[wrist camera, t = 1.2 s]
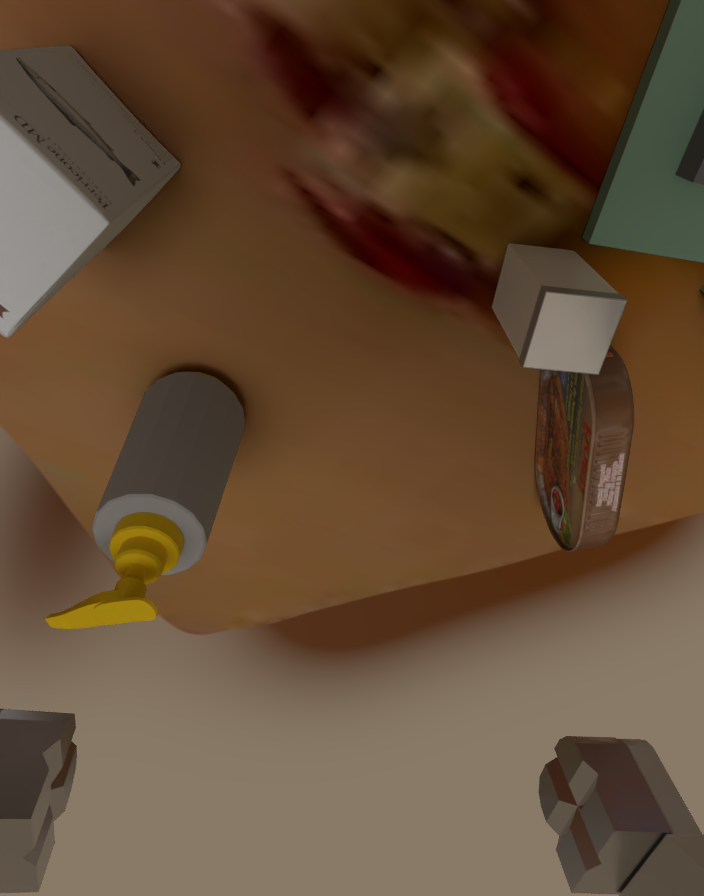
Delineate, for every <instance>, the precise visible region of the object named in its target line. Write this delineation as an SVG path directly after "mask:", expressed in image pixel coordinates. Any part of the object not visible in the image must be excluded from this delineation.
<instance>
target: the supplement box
mask: <svg viewBox="0 0 704 896" xmlns="http://www.w3.org/2000/svg"><path fill="white" fill-rule="evenodd" d="M180 167H181V164H180V163H179V161H178V160H176V159H175V158H174V157H173V156H172V155H171V154H170V153H169V152H168V151H167V150H166V149H165V148H164V147H163V146H162V145H161V144H160V143H159V142H158V141H157V140H156V139H155V138H154V136H153V135H152V134H151V133H150V132H149V131H148V130H147V129H146V128H145V127H144V126H143V125H142V124H141V123H140V122H139V121H138V120H137V119H136V118H135V116H134V115H133V114H132V113H131V112H130V111H129V110H128V109H127V108H126V107H125V106H124V105H123V103H122V102H121V101H120V100H119V99H118V98H117V97H116V96H115V95H114V93H113V92H112V91H111V90H110V89H109V88H108V87H107V86H106V85H105V84H104V82H103V81H102V80H101V79H100V78H99V77H98V76H97V75H96V74H95V72H94V71H93V70H92V69H91V68H90V67H89V66H88V64H87V63H86V62H85V61H84V60H83V59H82V58H81V56H80V55H79V54H78V53H77V52H76V50H75V49H74V48H73V47H71V46H53V47H36V48H23V49H10V50H0V334H1V335H3V336H4V337H10V336H11V335H12V334H14V333H15V332H16V331H17V330H18V329H19V328H20V327H21V326H22V325H23V324H24V323H25V322H26V321H27V320H28V319H29V318H30V317H31V316H33V315H34V314H35V313H36V312H37V311H38V310H39V309H40V308H41V307H42V306H43V305H44V304H45V303H46V302H47V301H48V300H50V299H51V298H52V297H53V296H54V295H55V294H56V293H57V292H58V291H59V290H60V289H61V288H62V287H63V286H64V285H65V284H67V283H68V282H69V281H70V280H71V279H72V278H73V277H74V276H75V275H76V274H77V273H78V272H79V271H80V270H81V269H83V268H84V267H85V266H86V265H87V264H88V263H89V262H90V261H91V260H92V259H93V258H94V257H96V256H97V255H98V254H99V253H100V252H101V251H102V250H103V249H104V248H105V247H106V246H107V245H108V244H109V243H110V242H111V241H112V240H113V239H114V238H115V237H116V236H117V235H118V234H119V233H120V232H121V231H122V230H123V229H124V228H125V227H126V226H127V225H128V224H129V223H130V222H131V221H132V220H133V219H134V218H135V217H136V216H137V215H138V214H139V213H140V212H141V210H142V209H143V208H144V207H145V206H146V205H147V204H148V203H149V202H150V201H151V200H152V199H153V198H154V196H155V195H156V194H157V193H158V192H159V191H160V190H161V189H162V187H163V186H164V185H165V184H166V183H167V182H168V181H169V180H170V179H171V177H172V176H173V175H174V174H175V173H176V172H177V171H178V170H179V169H180Z"/></svg>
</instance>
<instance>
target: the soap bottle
mask: <svg viewBox="0 0 704 896" xmlns="http://www.w3.org/2000/svg"><path fill="white" fill-rule="evenodd" d="M244 428H245V420H244V410H243V407H242V406H241V404H240V402H239V401H238V399H237V397H236V395H235V394H234V392H232V391H231V390H230V388H229V387H227V386H226V385H225V384H224V383H222V382H221V381H220V380H219V379H217V378H216V377H213V376H211V375H208V374H205V373H202V372H175V373H173V374H170V375H167V376H165V377H162V378H160V379H157V380H156V381H155V382H154V383H153V385H152V386H151V387H150V388H149V389H148V390H147V391H146V392H145V394H144V396H143V399H142V401H141V404H140V406H139V408H138V411H137V413H136V416H135V418H134V421H133V423H132V426H131V428H130V431H129V433H128V436H127V438H126V440H125V443H124V445H123V448H122V450H121V453H120V455H119V458H118V460H117V463H116V465H115V468H114V470H113V472H112V475H111V477H110V480H109V482H108V485H107V487H106V490H105V492H104V495H103V497H102V500H101V502H100V504H99V507H98V509H97V512H96V515H95V519H94V523H93V527H92V530H93V534H94V537H95V540H96V543H97V545H98V547H99V548H100V549H101V550H102V551H103V552H104V553H105V555H106V556H107V557H108V558H109V559H110V560H112V561H114V562H115V567H116V571H117V573H118V574H119V575H120V576H121V579H120V580H119V581H118V582H117V584H116V586H115V589H114V590H112V591H105V592H101V593H98V594H96V595H94V596H91V597H90V598H88V599H86V600H84V601H82V602H80V603H78V604H77V605H75V606H73V607H71V608H69V609H67V610H64V611H62V612H59V613H54V614H50V615H49V616H48V617H46V618H45V620H46V621H47V622H48V624H49V625H50V626H51V627H54V628H60V629H76V628H87V627H94V626H101V625H105V624H107V625H113V624H119V623H126V622H134V621H144V620H154V619H155V618H156V617H157V615H158V610H157V608H156V606H155V605H154V604H153V603H152V602H151V601H150V600H148V599H146V598H144V596H145V593H146V590H147V589H146V585H145V584H149V583H152V582H154V581H156V580H157V579H158V578H159V577H160V576H161V575H172V574H175V573H178V572H181V571H184V570H188V569H189V568H190V567H191V566H193V565H194V564H195V563H196V562H197V561H199V560H200V559H201V557H202V554H203V552H204V549H205V547H206V545H207V541H208V538H209V535H210V532H211V529H212V526H213V523H214V520H215V517H216V514H217V511H218V508H219V505H220V502H221V499H222V495H223V492H224V489H225V486H226V483H227V480H228V477H229V474H230V471H231V468H232V465H233V462H234V459H235V456H236V453H237V449H238V446H239V443H240V440H241V437H242V434H243V431H244Z"/></svg>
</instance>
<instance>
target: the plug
mask: <svg viewBox="0 0 704 896" xmlns="http://www.w3.org/2000/svg"><path fill="white" fill-rule="evenodd" d="M627 301H628V300H627V299H626V298H625V297H624V296H623V295H622V294H619V293H618V292H616V291H615V290H614V289H613V288H612V287H611V286H610V285H609V284H608V283H607V282H606V281H605V280H604V279H603V278H602V277H601V276H600V275H599V274H598V273H597V272H596V271H595V270H594V269H593V268H592V267H591V266H589V265H588V264H587V263H586V262H585V261H584V260H583V259H582V258H581V257H580V256H579V255H578V254H577V253H576V252H575V251H574V250H565V249H556V248H547V247H538V246H529V245H521V244H512V243H508V246H507V250H506V254H505V258H504V262H503V266H502V270H501V274H500V277H499V281H498V285H497V289H496V293H495V297H494V301H493V305H492V309H493V311H494V313H495V315H496V316H497V318H498V320H499V322H500V324H501V326H502V327H503V329H504V331H505V333H506V335H507V337H508V339H509V340H510V342H511V344H512V346H513V348H514V350H515V352H516V353H517V355H518V357H519V362H520V364H521V366H522V367H523V368H533V369H543V370H553V371H564V372H574V373H585V374H595V375H599V373H600V370H601V367H602V365H603V362H604V360H605V357H606V355H607V352H608V349H609V347H610V344H611V342H612V339H613V337H614V334H615V331H616V329H617V326H618V324H619V321H620V319H621V316H622V313H623V311H624V308H625V306H626V303H627Z"/></svg>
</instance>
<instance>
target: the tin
mask: <svg viewBox="0 0 704 896" xmlns="http://www.w3.org/2000/svg"><path fill="white" fill-rule="evenodd" d="M633 427H634V403H633V394H632V389H631V383H630V380H629V376H628V373H627V370H626V367H625V365H624V363H623V360H622V359H621V357H620V356H619V354H618V353H617V352H616V351H615V350H614V349H613V348H612V346H611V345H610V347H609V349H608V352H607V355H606V357H605V360H604V362H603V365H602V367H601V370H600V373H599V375H595V374H585V373H574V372H564V371H553V370H543V369H540V384H539V400H538V418H537V432H536V449H535V473H536V483H537V490H538V495H539V499H540V503H541V507H542V510H543V514H544V517H545V519H546V522H547V525H548V527H549V530H550V532H551V534H552V535H553V538H554V539H555V541H556V542H557V543H558V545H559V546H560V547H561V548H562V549H563V550H565V551H568V552H571V551H574V550H576V549H581V548H587V547H594V546H599V545H603V544H605V543H607V542H609V541H610V540H611V538H612V537H613V535H614V533H615V531H616V528H617V525H618V519H619V514H620V508H621V502H622V496H623V490H624V484H625V478H626V472H627V465H628V459H629V453H630V446H631V440H632V434H633Z"/></svg>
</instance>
